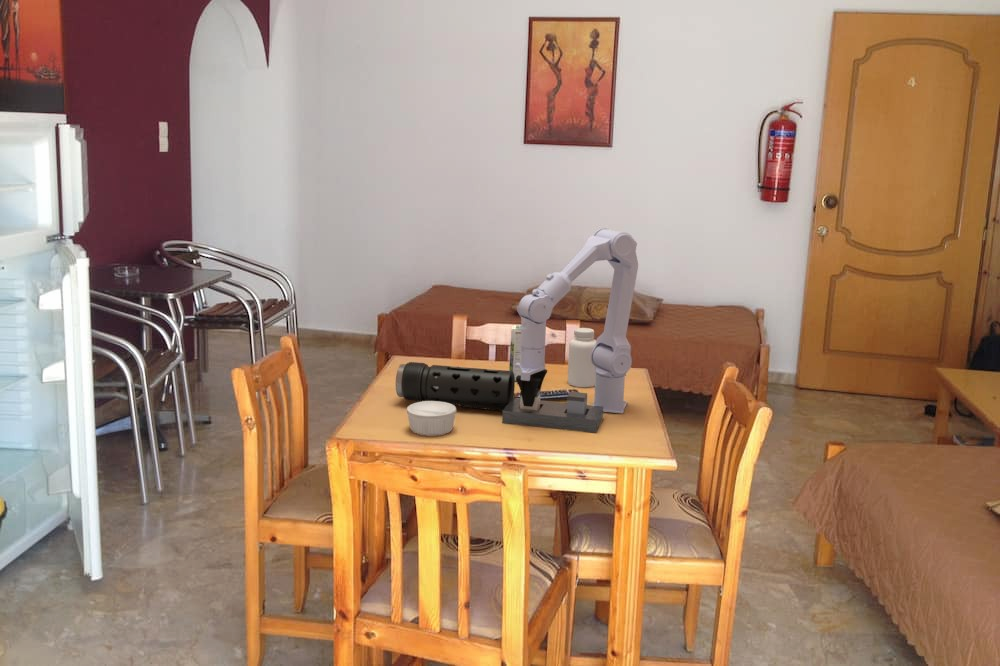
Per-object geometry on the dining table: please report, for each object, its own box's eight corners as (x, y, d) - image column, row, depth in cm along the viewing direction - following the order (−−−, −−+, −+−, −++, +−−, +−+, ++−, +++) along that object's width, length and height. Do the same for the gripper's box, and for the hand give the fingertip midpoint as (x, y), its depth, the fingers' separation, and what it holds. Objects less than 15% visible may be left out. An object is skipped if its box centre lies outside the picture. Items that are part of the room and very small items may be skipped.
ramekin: (411, 439, 208) (411, 416, 207) (402, 424, 218) (402, 402, 217) (461, 436, 211) (461, 413, 210) (449, 421, 221) (450, 399, 220)
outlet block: (513, 409, 231) (513, 397, 230) (603, 418, 226) (603, 406, 225) (502, 422, 221) (502, 410, 220) (595, 432, 215) (596, 420, 215)
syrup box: (509, 376, 262) (510, 324, 258) (530, 376, 261) (532, 325, 258) (508, 381, 256) (510, 329, 253) (530, 382, 256) (532, 329, 253)
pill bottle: (564, 386, 253) (566, 331, 250) (571, 378, 260) (573, 325, 257) (593, 389, 251) (596, 334, 247) (599, 381, 258) (602, 328, 255)
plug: (523, 415, 227) (524, 387, 225) (539, 417, 226) (540, 388, 224) (519, 420, 223) (520, 391, 222) (536, 421, 222) (537, 393, 221)
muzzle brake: (506, 417, 225) (508, 375, 223) (394, 407, 231) (394, 366, 229) (514, 406, 235) (515, 365, 232) (405, 396, 240) (406, 357, 238)
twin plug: (569, 420, 224) (570, 391, 223) (586, 421, 223) (587, 393, 222) (566, 425, 220) (567, 396, 219) (583, 426, 220) (584, 397, 218)
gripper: (523, 338, 229) (521, 392, 231) (508, 352, 215) (507, 409, 218) (551, 341, 227) (549, 395, 230) (539, 354, 213) (537, 412, 216)
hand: (530, 402), depth 224 cm, fingers open, 5 cm apart
